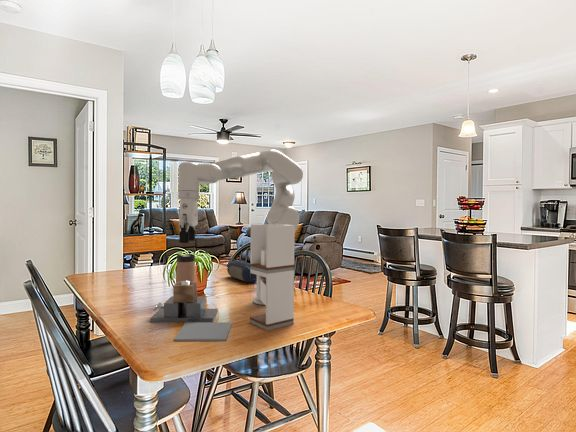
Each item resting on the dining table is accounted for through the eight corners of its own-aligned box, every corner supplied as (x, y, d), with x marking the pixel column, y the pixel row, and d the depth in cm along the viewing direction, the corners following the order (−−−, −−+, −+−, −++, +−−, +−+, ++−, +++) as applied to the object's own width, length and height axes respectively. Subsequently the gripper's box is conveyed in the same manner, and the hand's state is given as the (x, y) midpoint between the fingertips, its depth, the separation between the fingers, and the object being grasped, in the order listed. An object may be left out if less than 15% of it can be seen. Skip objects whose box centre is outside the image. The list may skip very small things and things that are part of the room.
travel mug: (190, 304, 156) (190, 256, 156) (173, 303, 158) (173, 256, 157) (198, 299, 164) (198, 254, 163) (181, 298, 166) (181, 253, 165)
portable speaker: (224, 277, 214) (224, 259, 214) (239, 275, 220) (240, 258, 220) (246, 285, 194) (246, 266, 194) (262, 283, 200) (263, 264, 200)
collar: (196, 297, 143) (197, 281, 142) (192, 302, 136) (193, 285, 135) (178, 297, 142) (178, 281, 142) (173, 302, 135) (173, 285, 135)
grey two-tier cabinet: (275, 316, 141) (276, 223, 140) (293, 324, 133) (294, 225, 132) (249, 322, 134) (250, 224, 133) (267, 330, 126) (268, 226, 124)
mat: (231, 324, 132) (231, 322, 132) (225, 340, 116) (225, 338, 116) (185, 324, 131) (185, 322, 131) (173, 341, 115) (173, 339, 115)
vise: (217, 312, 146) (217, 277, 145) (212, 322, 134) (212, 284, 133) (160, 312, 145) (160, 277, 144) (150, 322, 133) (150, 284, 132)
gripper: (193, 195, 131) (191, 244, 132) (203, 196, 149) (202, 240, 149) (171, 194, 131) (170, 243, 132) (184, 196, 149) (183, 239, 149)
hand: (187, 241), depth 140 cm, fingers open, 9 cm apart
